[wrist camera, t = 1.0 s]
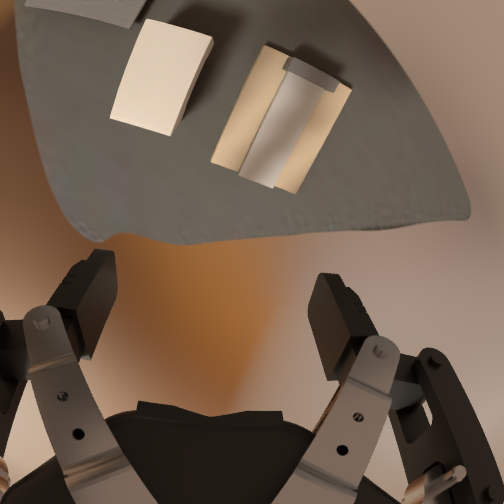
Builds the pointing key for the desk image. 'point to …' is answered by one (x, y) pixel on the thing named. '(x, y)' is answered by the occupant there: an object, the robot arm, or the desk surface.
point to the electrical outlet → (96, 9)
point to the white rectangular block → (160, 76)
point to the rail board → (279, 121)
